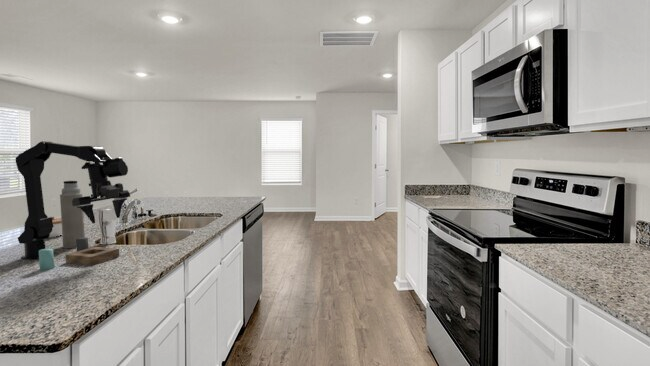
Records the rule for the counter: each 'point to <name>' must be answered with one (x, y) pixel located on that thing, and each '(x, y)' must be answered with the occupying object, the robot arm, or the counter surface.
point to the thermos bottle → (71, 215)
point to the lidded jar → (56, 227)
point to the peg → (46, 259)
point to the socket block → (92, 255)
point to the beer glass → (107, 225)
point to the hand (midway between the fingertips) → (106, 220)
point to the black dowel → (82, 243)
